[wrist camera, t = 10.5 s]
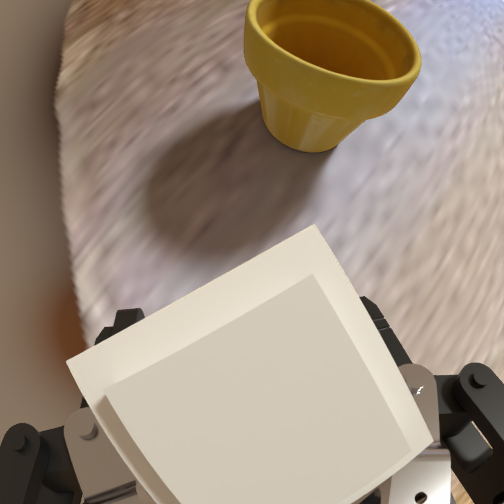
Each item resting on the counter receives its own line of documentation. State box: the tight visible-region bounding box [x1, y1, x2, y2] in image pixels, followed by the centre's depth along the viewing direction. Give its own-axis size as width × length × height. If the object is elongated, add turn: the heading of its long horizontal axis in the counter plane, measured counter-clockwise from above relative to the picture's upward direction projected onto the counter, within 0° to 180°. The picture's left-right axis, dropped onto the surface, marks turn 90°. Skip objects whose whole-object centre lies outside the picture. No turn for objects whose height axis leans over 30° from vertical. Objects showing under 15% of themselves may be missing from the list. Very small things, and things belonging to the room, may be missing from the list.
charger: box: [66, 224, 434, 504], centre depth 9 cm, size 4×4×11 cm
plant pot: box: [244, 0, 421, 153], centre depth 19 cm, size 10×10×10 cm
